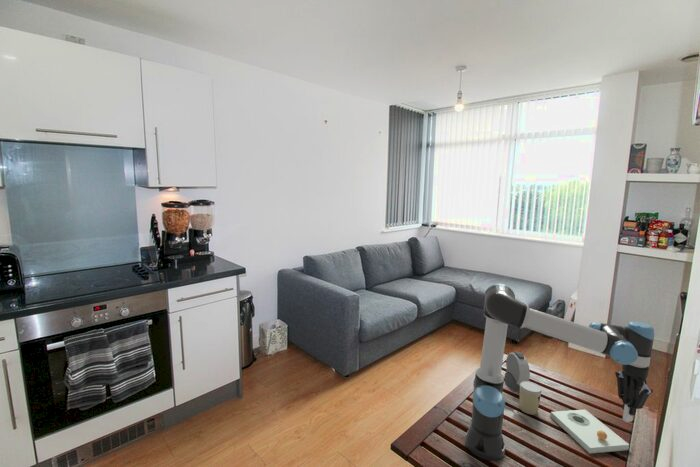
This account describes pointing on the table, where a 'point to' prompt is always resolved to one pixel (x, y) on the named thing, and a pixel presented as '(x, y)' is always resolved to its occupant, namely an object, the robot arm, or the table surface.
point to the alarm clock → (516, 370)
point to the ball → (602, 435)
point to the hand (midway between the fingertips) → (627, 420)
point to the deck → (588, 431)
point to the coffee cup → (529, 397)
